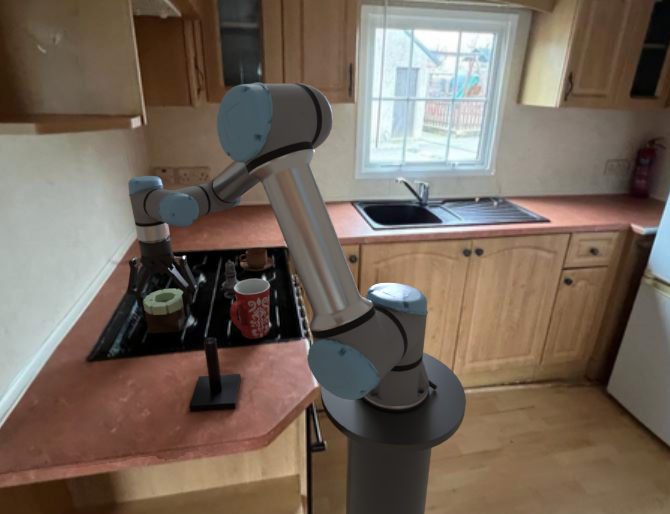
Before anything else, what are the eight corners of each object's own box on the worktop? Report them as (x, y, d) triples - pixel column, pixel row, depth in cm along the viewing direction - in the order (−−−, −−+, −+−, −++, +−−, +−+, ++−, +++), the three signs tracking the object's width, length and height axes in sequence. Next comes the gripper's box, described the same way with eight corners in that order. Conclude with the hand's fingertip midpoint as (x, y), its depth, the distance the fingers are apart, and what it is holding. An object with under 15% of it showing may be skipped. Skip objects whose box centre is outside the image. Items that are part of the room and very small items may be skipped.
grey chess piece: (233, 300, 125) (229, 264, 121) (219, 296, 128) (214, 260, 123) (246, 292, 130) (243, 257, 125) (232, 288, 132) (228, 254, 128)
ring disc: (189, 295, 115) (188, 287, 114) (179, 313, 106) (178, 305, 105) (152, 297, 114) (151, 289, 114) (139, 315, 105) (138, 307, 104)
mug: (253, 318, 115) (249, 275, 110) (279, 327, 111) (276, 282, 106) (221, 342, 105) (215, 295, 100) (248, 352, 101) (244, 304, 96)
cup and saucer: (245, 276, 140) (243, 260, 138) (237, 264, 150) (235, 248, 148) (278, 270, 145) (277, 254, 143) (268, 258, 155) (267, 243, 153)
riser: (187, 316, 116) (184, 297, 114) (179, 331, 109) (176, 312, 107) (158, 317, 116) (154, 298, 114) (148, 333, 108) (145, 313, 106)
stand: (241, 379, 92) (235, 327, 87) (235, 408, 83) (229, 353, 78) (199, 381, 91) (192, 329, 86) (190, 411, 82) (181, 355, 78)
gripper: (203, 231, 108) (212, 306, 116) (113, 234, 106) (129, 310, 114) (196, 241, 101) (207, 320, 109) (101, 245, 99) (118, 324, 107)
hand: (167, 315), depth 111 cm, fingers closed on ring disc, 10 cm apart
